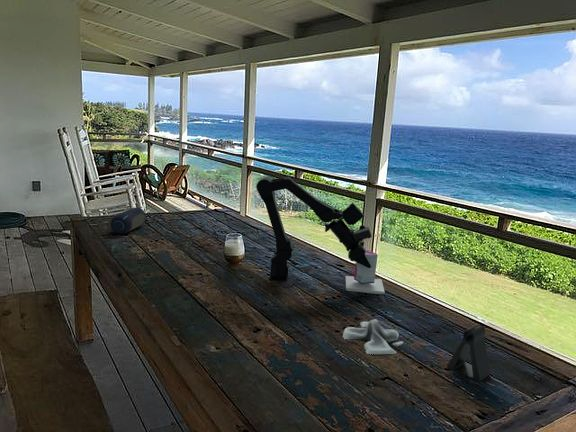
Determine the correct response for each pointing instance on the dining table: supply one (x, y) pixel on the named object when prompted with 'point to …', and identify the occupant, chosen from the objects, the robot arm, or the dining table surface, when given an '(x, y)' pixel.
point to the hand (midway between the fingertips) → (369, 264)
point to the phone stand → (479, 358)
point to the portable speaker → (128, 220)
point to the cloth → (373, 337)
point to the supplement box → (366, 269)
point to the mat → (364, 286)
